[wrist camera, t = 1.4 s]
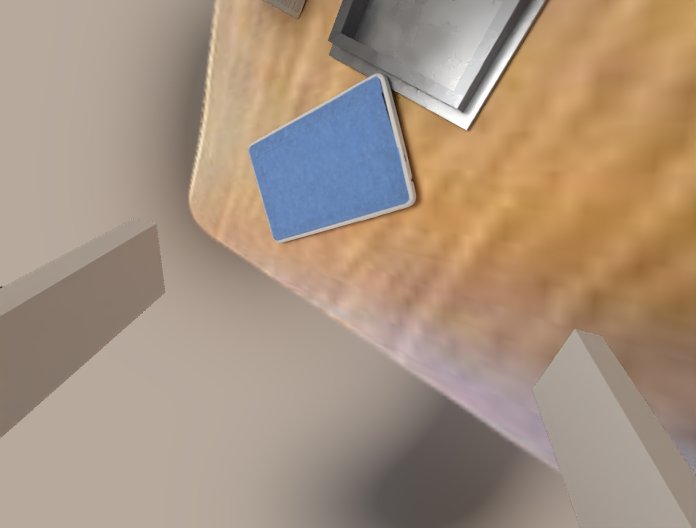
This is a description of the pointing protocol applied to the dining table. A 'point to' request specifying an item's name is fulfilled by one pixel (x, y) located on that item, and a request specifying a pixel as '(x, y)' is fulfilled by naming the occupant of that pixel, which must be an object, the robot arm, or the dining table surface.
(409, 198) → the tablet computer
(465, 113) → the square metal tray
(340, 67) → the dining table surface
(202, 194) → the dining table surface
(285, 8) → the skincare box
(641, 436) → the robot arm
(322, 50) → the dining table surface
